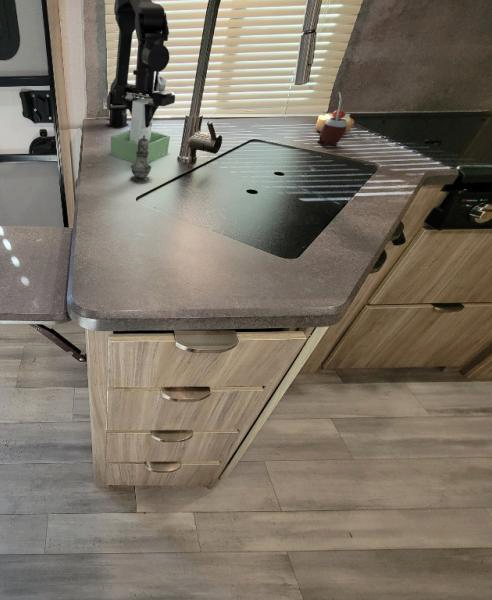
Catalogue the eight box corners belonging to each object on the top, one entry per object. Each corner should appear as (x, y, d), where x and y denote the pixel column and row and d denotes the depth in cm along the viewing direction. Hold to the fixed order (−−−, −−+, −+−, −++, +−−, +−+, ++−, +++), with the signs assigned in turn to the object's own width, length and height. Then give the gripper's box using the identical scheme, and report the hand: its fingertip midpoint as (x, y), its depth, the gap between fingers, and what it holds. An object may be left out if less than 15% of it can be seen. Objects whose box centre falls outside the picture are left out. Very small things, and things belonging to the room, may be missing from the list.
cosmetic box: (139, 146, 104) (143, 104, 96) (128, 143, 106) (131, 100, 98) (150, 142, 108) (156, 100, 99) (139, 138, 110) (144, 97, 101)
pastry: (311, 133, 125) (322, 107, 119) (315, 126, 132) (325, 100, 126) (347, 139, 120) (360, 111, 114) (349, 130, 128) (361, 104, 122)
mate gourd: (333, 149, 112) (356, 99, 102) (309, 143, 117) (330, 95, 107) (341, 144, 116) (365, 95, 106) (318, 139, 120) (339, 91, 110)
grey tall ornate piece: (126, 177, 95) (129, 133, 87) (143, 174, 97) (148, 130, 89) (135, 185, 91) (139, 139, 83) (154, 181, 93) (159, 136, 85)
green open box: (110, 154, 109) (110, 136, 105) (135, 144, 116) (137, 127, 112) (142, 165, 102) (144, 146, 98) (167, 154, 109) (170, 136, 106)
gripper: (190, 66, 92) (180, 126, 103) (138, 59, 102) (134, 115, 112) (167, 71, 86) (159, 134, 97) (114, 63, 96) (113, 122, 107)
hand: (141, 125), depth 103 cm, fingers closed on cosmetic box, 4 cm apart
